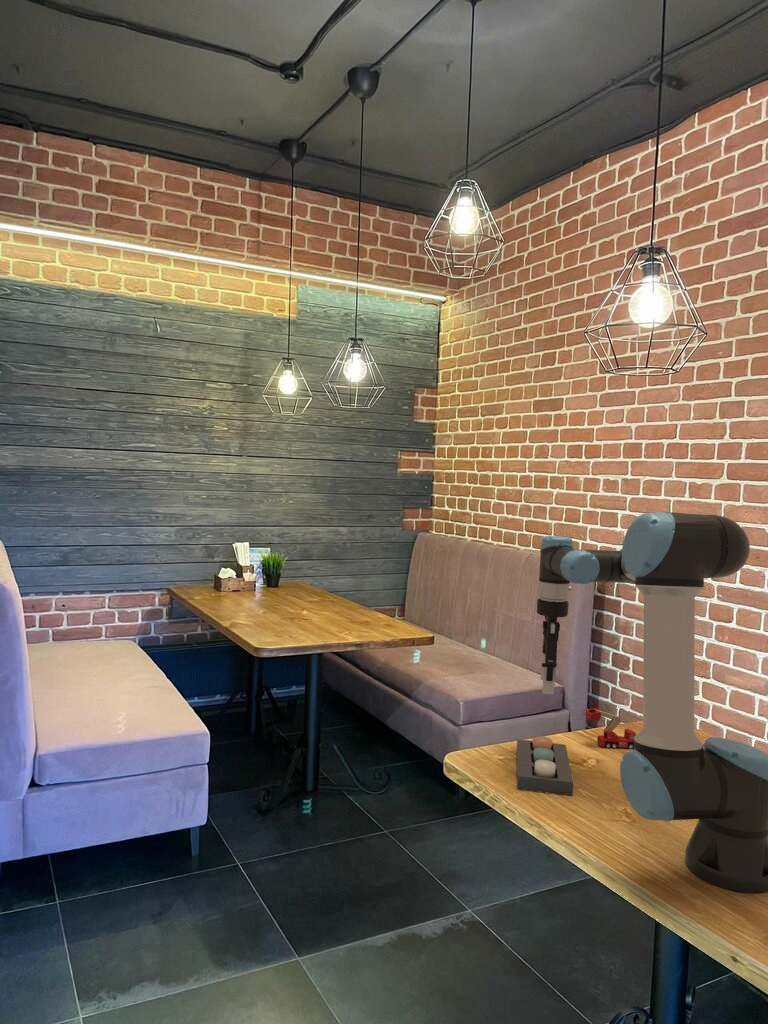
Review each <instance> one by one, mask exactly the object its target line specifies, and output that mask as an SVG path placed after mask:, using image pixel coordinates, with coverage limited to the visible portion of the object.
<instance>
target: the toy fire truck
mask: <svg viewBox="0 0 768 1024" xmlns="http://www.w3.org/2000/svg"><path fill="white" fill-rule="evenodd" d="M585 717H586V718H587V719H588V721H595V722H599V721H600V719H601V717H604V718H606V719H610V721H609V722H608V724H607V725H606V726H605V728H604V729H603V735H597V737H596V738H597V740H596V741H597V744H598V745H599V746H600V747H603V748H604V747H605V748H606V749H610V748H612V749H617V747H618V748H627V749H630V750H634V737H635V736H636V735H637V733H636V732H635V731H634V730H632V729H631V728H630V729H629V728H625V729H624V733H623V736H621V735H620V736H619V735H618V734H617V733H616V732H614V730H615V728H617V727H618V726H619V725H620V724H621V723H622V722H623V720H622V719H621V718H620V717H619V716H618V715H617V714H612V713H609V712H606V711H602V710H599V709H598V708H597V707H594V708H589V709H586V710H585Z"/></svg>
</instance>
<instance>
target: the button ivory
mask: <svg viewBox="0 0 768 1024" xmlns="http://www.w3.org/2000/svg"><path fill="white" fill-rule="evenodd" d="M555 768H556V764H555V763H554V762H551V761H548V760H537V761H535V769H534V776H540V777H549V778H555Z"/></svg>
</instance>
